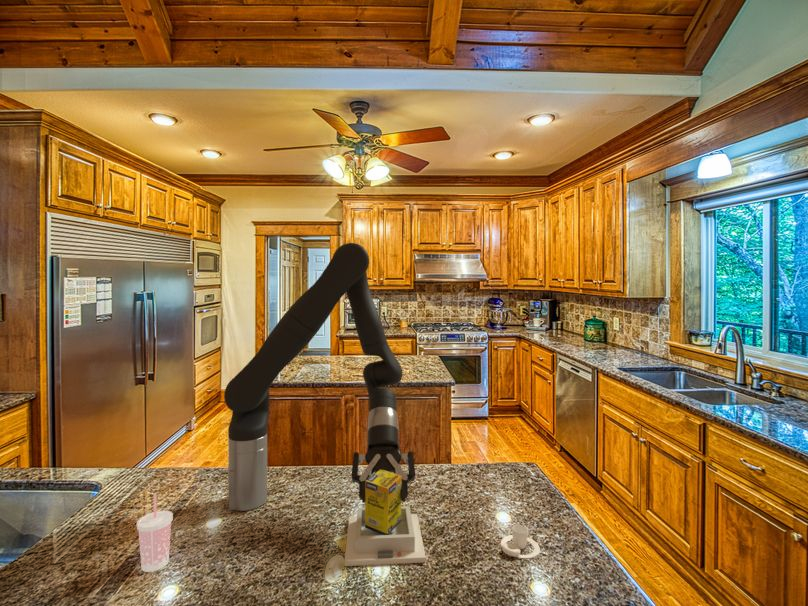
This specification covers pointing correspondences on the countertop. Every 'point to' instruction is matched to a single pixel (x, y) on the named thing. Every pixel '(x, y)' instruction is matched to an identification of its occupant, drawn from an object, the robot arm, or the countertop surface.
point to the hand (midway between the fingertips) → (383, 501)
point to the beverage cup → (154, 539)
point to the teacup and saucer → (519, 542)
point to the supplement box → (383, 502)
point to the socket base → (384, 542)
